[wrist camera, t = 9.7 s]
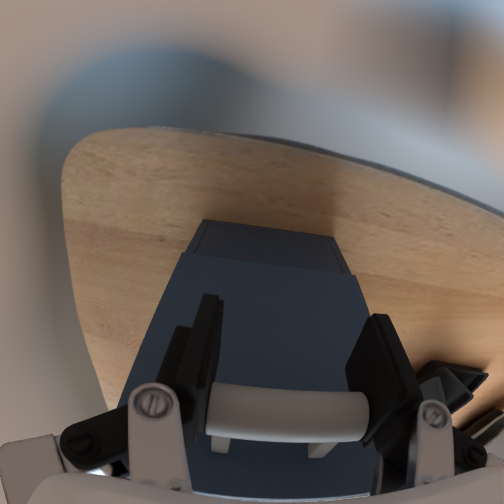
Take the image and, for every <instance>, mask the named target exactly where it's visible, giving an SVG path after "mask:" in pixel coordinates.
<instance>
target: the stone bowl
mask: <svg viewBox="0 0 504 504" xmlns="http://www.w3.org/2000/svg"><path fill="white" fill-rule="evenodd" d="M462 432H463V433H465V434H467V435H468V436H470V437H471V438H473V439H475V440H476V441H478V442H479V443H481V444H482V445H483V446H484V448H485V447H487V446H489V445H490V444H491V443H492V442H493V441H494V440H496V439H497V438H498V437H499V436H500V435H501V434H502V433H503V432H504V412H503V411H501V410H499V409H498V408H494V409H493V410H491V411H489V412H488V413H487V414H486V415H484V416H483V417H482V418H480V419H479V420H478V421H476V422H474V423H473V425H471V426H470V427H468V429H466V430H465V431H462Z"/></svg>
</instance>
